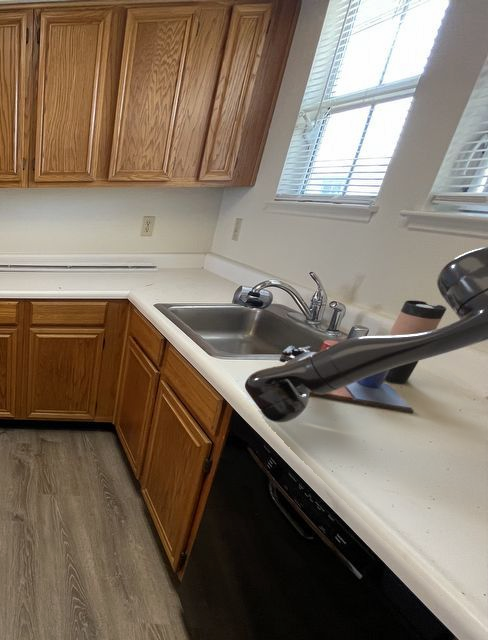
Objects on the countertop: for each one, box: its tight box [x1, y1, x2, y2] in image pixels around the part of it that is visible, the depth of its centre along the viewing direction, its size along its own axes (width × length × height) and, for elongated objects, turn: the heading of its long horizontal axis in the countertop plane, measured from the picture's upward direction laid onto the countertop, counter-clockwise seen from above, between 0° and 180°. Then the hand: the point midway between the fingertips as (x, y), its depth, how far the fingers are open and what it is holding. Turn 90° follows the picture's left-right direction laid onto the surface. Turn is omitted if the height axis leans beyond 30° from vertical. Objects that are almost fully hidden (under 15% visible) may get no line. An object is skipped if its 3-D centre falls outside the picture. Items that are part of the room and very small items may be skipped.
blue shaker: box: [357, 369, 390, 389], centre depth 102 cm, size 5×5×11 cm
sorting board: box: [309, 382, 414, 414], centre depth 103 cm, size 22×14×1 cm, turn 68°
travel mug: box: [384, 299, 447, 385], centre depth 106 cm, size 8×8×20 cm
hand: (329, 355), depth 98 cm, fingers open, 8 cm apart
